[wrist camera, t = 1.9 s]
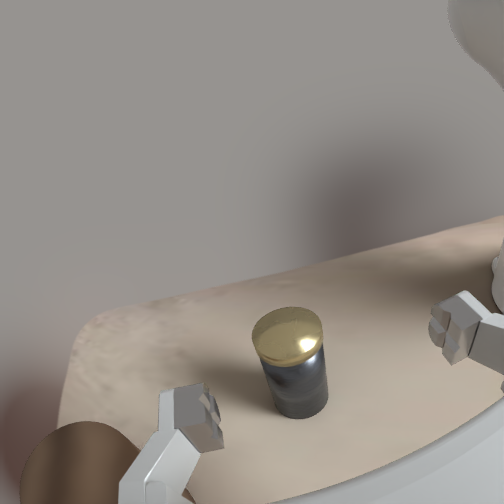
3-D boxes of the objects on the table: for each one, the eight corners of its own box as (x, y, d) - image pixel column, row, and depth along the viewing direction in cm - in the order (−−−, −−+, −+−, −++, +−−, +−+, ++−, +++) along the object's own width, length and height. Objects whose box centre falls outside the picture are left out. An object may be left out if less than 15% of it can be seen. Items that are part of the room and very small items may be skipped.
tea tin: (319, 368, 33) (309, 299, 28) (336, 408, 28) (332, 342, 23) (268, 384, 32) (246, 318, 28) (280, 426, 27) (258, 365, 23)
